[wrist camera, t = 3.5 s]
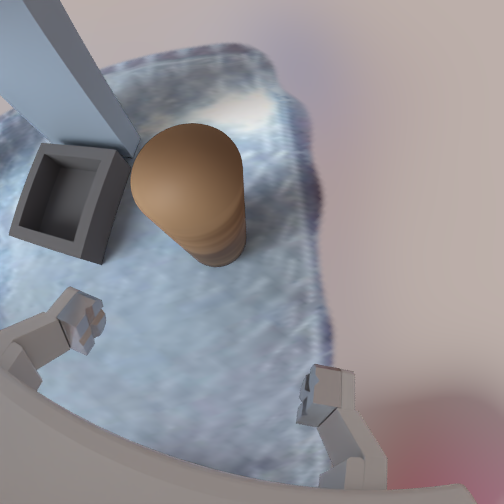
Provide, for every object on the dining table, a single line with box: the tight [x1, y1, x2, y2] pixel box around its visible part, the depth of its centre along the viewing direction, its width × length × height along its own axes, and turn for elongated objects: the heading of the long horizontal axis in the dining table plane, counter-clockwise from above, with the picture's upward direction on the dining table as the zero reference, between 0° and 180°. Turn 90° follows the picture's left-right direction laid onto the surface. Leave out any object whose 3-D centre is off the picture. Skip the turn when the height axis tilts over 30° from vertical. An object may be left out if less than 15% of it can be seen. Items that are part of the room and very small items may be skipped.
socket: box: [9, 143, 131, 265], centre depth 22 cm, size 8×8×4 cm
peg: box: [130, 123, 246, 267], centre depth 17 cm, size 4×4×12 cm
